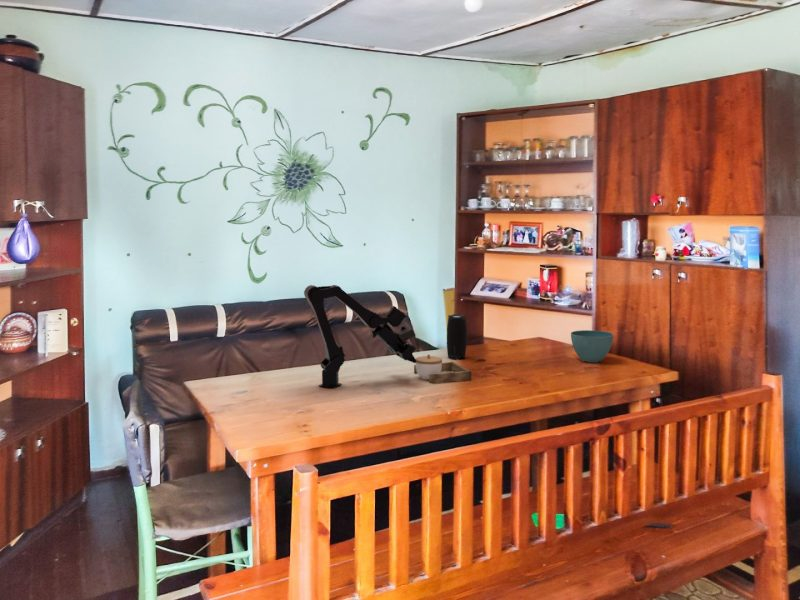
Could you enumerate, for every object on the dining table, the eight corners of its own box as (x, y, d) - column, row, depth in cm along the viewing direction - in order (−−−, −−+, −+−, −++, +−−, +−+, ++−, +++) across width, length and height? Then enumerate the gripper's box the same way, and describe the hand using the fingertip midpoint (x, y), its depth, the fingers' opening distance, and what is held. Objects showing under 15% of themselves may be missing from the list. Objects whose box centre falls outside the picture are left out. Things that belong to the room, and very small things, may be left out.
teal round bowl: (561, 358, 322) (562, 331, 321) (593, 355, 330) (594, 328, 328) (588, 366, 306) (589, 338, 305) (621, 362, 314) (622, 335, 312)
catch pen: (430, 383, 277) (430, 374, 276) (414, 373, 294) (414, 365, 293) (471, 380, 282) (471, 371, 282) (452, 370, 299) (452, 362, 299)
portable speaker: (453, 355, 330) (454, 313, 327) (470, 357, 324) (471, 315, 322) (442, 358, 323) (443, 315, 321) (459, 360, 317) (460, 317, 315)
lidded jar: (442, 375, 291) (443, 352, 289) (440, 381, 280) (441, 357, 279) (416, 374, 292) (416, 351, 291) (413, 380, 281) (413, 357, 280)
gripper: (410, 324, 271) (437, 351, 276) (394, 317, 288) (420, 342, 293) (391, 346, 269) (418, 373, 274) (376, 338, 287) (402, 363, 292)
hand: (415, 362), depth 283 cm, fingers closed, pressing on lidded jar
